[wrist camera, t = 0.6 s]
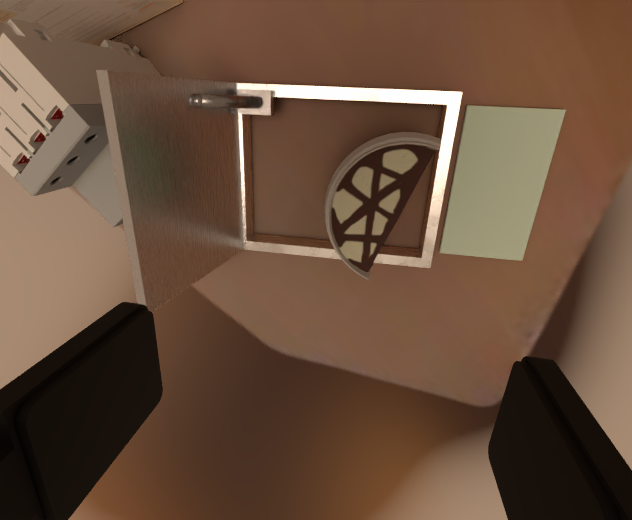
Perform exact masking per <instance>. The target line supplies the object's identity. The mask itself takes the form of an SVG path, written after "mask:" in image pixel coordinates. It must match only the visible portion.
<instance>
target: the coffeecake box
mask: <svg viewBox="0 0 632 520" xmlns="http://www.w3.org/2000/svg"><path fill="white" fill-rule="evenodd" d="M181 3H183V0H0V23H7V22H8V21H9V19H16V20H21V21H25V22H30V23H34V24H39V25H43V26H45V27H46V28H47V30H48V31H49V32H50V33H51V34H52V35H53V36H54V37H56V38H61V39H66V40H71V41H76V42H81V43H86V44H92V45H99V44H101V43H102V42H103V41H104V39H106V40H109V39H111V38H113V37H115V36H117V35H119V34H121V33H123V32H125V31H127V30H129V29H131V28H133V27H135V26H137V25H139V24H141V23H143V22H145V21H147V20H149V19H151V18H153V17H155V16H157V15H159V14H161V13H163V12H165V11H167V10H169V9H171V8H173V7H175V6H177V5H179V4H181Z"/></svg>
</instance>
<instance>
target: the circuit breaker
mask: <svg viewBox="0 0 632 520" xmlns="http://www.w3.org/2000/svg"><path fill="white" fill-rule="evenodd" d="M139 51H140V49H139V48H138V47H137V46H134V47H133V49H131V48H130V47H129V46H128V45H127V44H124V43H120V42H115V41H111V40H106V39H104V41H103V42H102V43H101V45H100V46H97V45H92V44H86V43H81V42H76V41H71V40H66V39H61V38H56V37H54V36H53V35H52V34H51V33H50V32H49V31H48V30H47V28H46V27H45V26H43V25H39V24H34V23H30V22H25V21H21V20H16V19H9V21H8V22H7V23H0V164H1V165H2V166H3V167H4V168H5V169H6V170H7V171H8V172H9V173H10V174H11V175H12V176H13V177H14V178H15V179H16V180H17V181H18V182H19V183H20V184H21V185H22V186H23V187H24V188H25V189H26V190H27V191H28V192H29V193H30V194H31V195H32V196H37V195H40V194H44V193H48V192H51V191H55V190H58V189H62V188H66V187H69V186H73V187H74V188H75V189H76V190H77V191H78V192H79V193H80V194H81V195H82V196H83V197H84V198H85V199H86V200H87V201H88V202H89V203H90V204H91V205H92V206H93V207H94V208H95V209H96V210H97V211H98V212H99V213H100V214H101V215H102V216H103V217H104V218H105V219H106V220H107V221H108V222H109V223H110V224H111V225H112V226H113V227H115V226H118V225H120V224H122V223H123V219H122V213H121V208H120V202H119V197H118V191H117V185H116V180H115V174H114V168H113V163H112V157H111V151H110V146H109V140H108V135H107V129H106V123H105V118H104V112H103V106H102V101H101V95H100V89H99V84H98V78H97V73H96V70H110V71H120V72H130V73H140V74H151V75H161V74H160V73H159V72H158V71H157V70H156V68H155V67H154V66H153V65H152V64H151V62H150V61H149V60H148V59H147V58H142V57H141V56H140V55H139V54H138V53H139Z"/></svg>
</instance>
